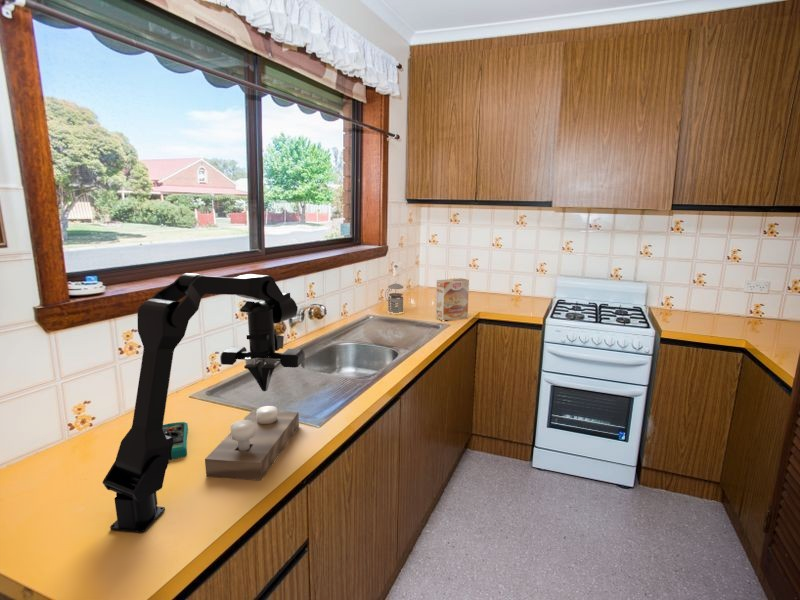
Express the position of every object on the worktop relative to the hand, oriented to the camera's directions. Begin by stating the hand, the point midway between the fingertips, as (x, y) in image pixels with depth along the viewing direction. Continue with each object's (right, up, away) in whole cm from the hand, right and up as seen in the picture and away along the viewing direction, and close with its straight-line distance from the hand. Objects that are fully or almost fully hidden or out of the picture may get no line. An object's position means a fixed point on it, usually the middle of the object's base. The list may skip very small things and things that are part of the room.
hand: (265, 390), depth 113 cm
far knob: (0, -12, +3) cm, 12 cm away
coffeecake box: (+58, +12, +120) cm, 134 cm away
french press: (+30, +15, +133) cm, 138 cm away
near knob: (-1, -12, -11) cm, 16 cm away
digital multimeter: (-22, -13, -2) cm, 25 cm away
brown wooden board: (-1, -13, -4) cm, 13 cm away
